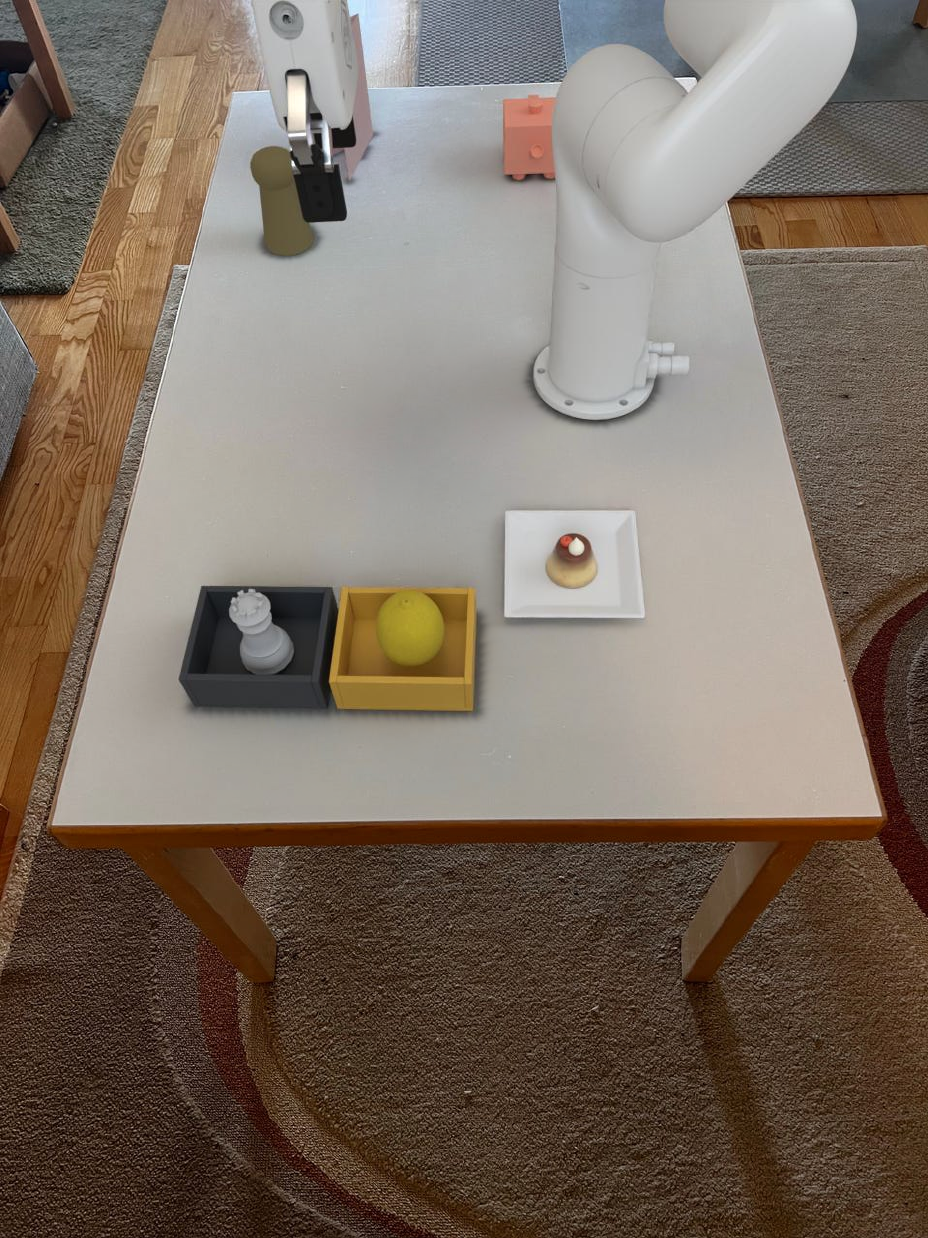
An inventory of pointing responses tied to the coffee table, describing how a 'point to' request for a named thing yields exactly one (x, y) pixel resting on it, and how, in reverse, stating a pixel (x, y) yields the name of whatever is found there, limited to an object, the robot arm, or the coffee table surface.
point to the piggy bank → (528, 136)
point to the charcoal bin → (218, 665)
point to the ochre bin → (389, 686)
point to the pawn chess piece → (280, 202)
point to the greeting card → (358, 108)
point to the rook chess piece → (260, 634)
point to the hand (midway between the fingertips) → (331, 181)
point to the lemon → (410, 628)
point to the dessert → (572, 564)
